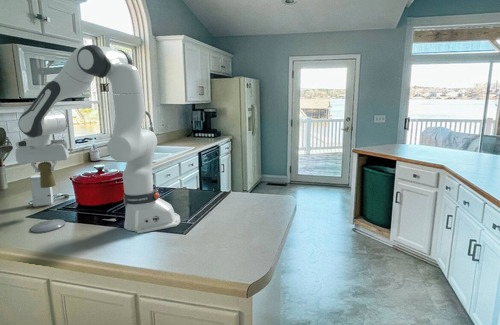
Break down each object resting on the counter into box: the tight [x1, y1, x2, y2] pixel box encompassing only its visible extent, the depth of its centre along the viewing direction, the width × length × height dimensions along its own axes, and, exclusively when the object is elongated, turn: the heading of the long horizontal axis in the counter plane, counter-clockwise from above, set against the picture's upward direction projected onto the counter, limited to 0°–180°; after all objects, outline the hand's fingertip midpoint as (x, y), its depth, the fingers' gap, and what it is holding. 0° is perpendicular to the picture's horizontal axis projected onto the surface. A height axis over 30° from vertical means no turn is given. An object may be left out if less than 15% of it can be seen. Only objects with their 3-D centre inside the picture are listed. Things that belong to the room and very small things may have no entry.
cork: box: [37, 161, 57, 188], centre depth 146 cm, size 6×6×11 cm
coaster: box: [30, 218, 66, 234], centre depth 134 cm, size 12×12×1 cm
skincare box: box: [29, 174, 54, 207], centre depth 162 cm, size 8×6×15 cm
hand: (45, 171), depth 145 cm, fingers closed on cork, 5 cm apart
